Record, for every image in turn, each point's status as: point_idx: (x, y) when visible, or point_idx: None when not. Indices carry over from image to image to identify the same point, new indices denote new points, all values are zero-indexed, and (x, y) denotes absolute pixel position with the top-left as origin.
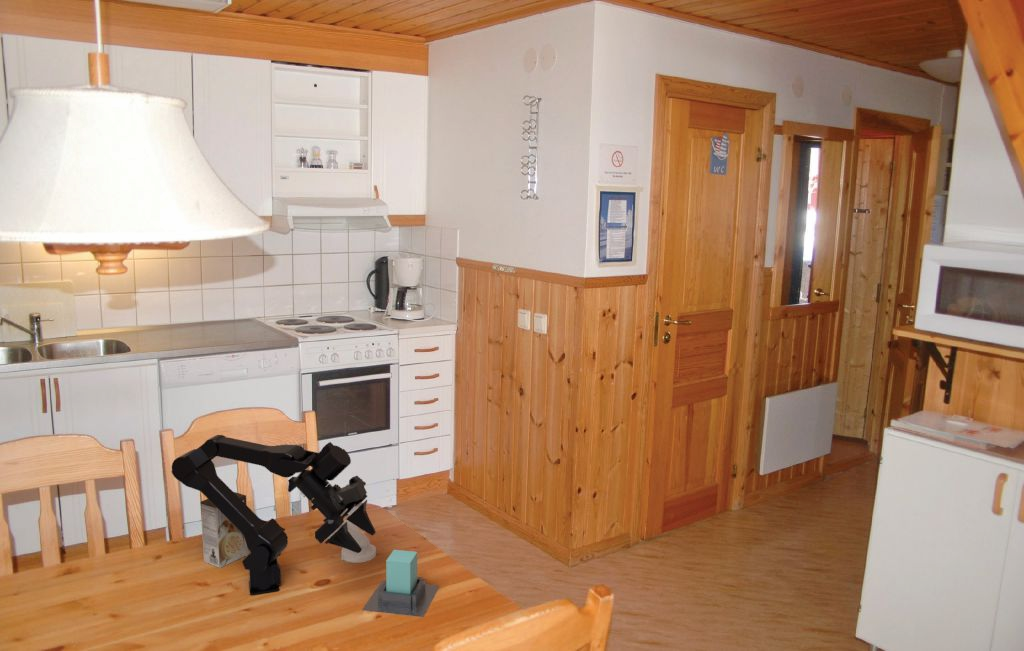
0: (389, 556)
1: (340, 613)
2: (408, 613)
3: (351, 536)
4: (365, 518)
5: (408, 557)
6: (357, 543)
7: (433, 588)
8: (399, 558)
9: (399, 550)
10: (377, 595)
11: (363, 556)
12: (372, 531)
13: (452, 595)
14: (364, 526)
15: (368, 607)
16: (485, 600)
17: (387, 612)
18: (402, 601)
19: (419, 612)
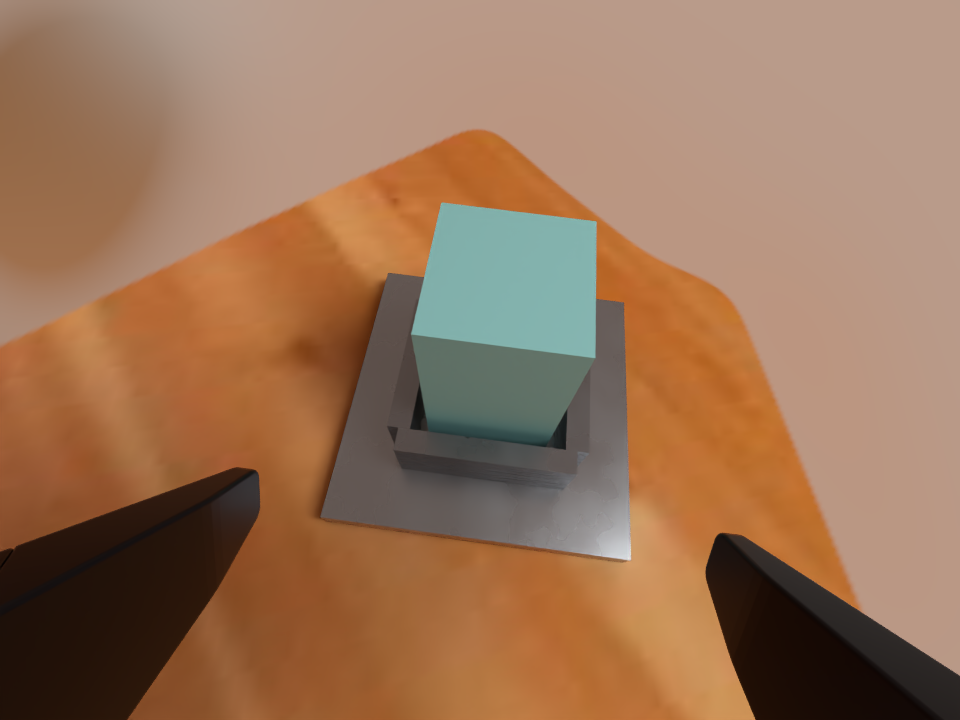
0: (525, 347)
1: (629, 688)
2: (612, 353)
3: (951, 714)
4: (30, 616)
5: (523, 237)
6: (786, 586)
7: (411, 291)
8: (547, 282)
9: (423, 298)
10: (482, 510)
11: None
12: (238, 502)
13: (426, 246)
14: (146, 631)
15: (601, 530)
16: (454, 166)
17: (624, 434)
18: None
19: (597, 318)
